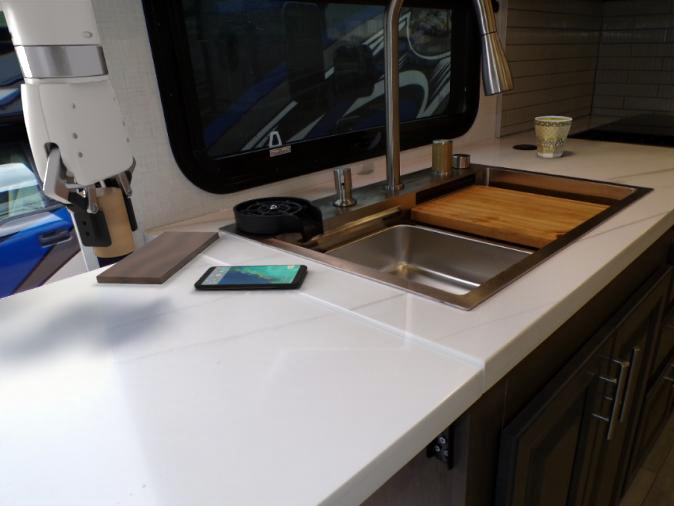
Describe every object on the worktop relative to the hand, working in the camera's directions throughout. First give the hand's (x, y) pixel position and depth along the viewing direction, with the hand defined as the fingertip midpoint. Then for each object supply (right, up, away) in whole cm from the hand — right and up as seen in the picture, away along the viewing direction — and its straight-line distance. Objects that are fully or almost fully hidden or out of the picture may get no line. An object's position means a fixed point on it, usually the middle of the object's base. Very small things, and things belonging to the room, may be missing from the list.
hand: (111, 236), depth 61 cm
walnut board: (-5, -1, +24) cm, 25 cm away
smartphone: (+12, -5, +15) cm, 20 cm away
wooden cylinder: (0, -2, +1) cm, 2 cm away
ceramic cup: (+77, +34, +89) cm, 123 cm away
